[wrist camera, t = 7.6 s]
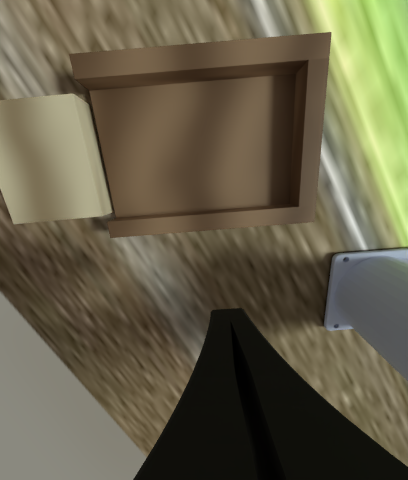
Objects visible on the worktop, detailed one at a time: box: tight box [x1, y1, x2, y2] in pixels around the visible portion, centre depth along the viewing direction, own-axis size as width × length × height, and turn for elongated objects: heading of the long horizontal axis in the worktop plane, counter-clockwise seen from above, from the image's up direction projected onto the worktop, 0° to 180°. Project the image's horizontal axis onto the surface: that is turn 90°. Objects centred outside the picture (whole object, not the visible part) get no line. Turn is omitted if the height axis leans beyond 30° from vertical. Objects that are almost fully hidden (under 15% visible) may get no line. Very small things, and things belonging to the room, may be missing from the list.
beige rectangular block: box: [0, 94, 114, 224], centre depth 14 cm, size 6×8×2 cm
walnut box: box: [69, 32, 331, 238], centre depth 14 cm, size 15×11×2 cm
